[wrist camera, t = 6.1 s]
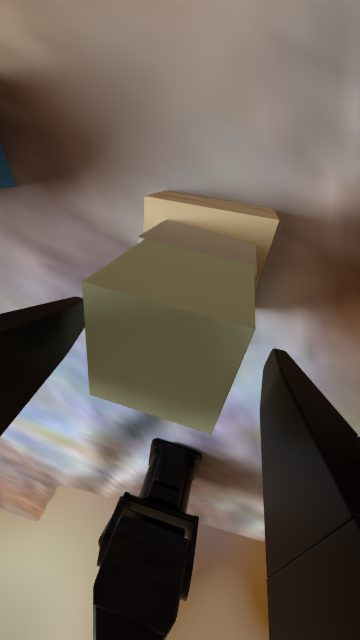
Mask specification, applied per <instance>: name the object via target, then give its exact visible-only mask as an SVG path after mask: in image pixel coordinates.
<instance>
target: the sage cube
mask: <svg viewBox="0 0 360 640" xmlns="http://www.w3.org/2000/svg"><path fill="white" fill-rule="evenodd" d="M82 288H83V303H84V318H85V332H86V347H87V361H88V376H89V391H90V395H93V396H96V397H99V398H102V399H105V400H108V401H111V402H114V403H117V404H120V405H123V406H126V407H129V408H132V409H135V410H138V411H141V412H144V413H147V414H150V415H154V416H157V417H160V418H163V419H166V420H169V421H172V422H175V423H178V424H181V425H184V426H187V427H190V428H193V429H196V430H199V431H202V432H205V433H208V434H212V432H213V429H214V427H215V424H216V422H217V420H218V417H219V415H220V412H221V410H222V408H223V405H224V403H225V401H226V398H227V396H228V393H229V391H230V389H231V386H232V384H233V381H234V379H235V377H236V374H237V372H238V369H239V367H240V365H241V362H242V360H243V357H244V355H245V353H246V350H247V348H248V346H249V343H250V341H251V338H252V336H253V334H254V331H255V289H254V266H253V265H249V264H245V263H241V262H237V261H233V260H229V259H224V258H220V257H216V256H212V255H208V254H204V253H200V252H196V251H192V250H188V249H183V248H179V247H175V246H171V245H167V244H163V243H159V242H155V241H151V240H146V239H144V240H143V241H141V242H140V243H138V244H137V245H135V246H134V247H132V248H131V249H129V250H128V251H127V252H125V253H124V254H122V255H121V256H119V257H118V258H116V259H115V260H113V261H112V262H110V263H109V264H107V265H106V266H105V267H103V268H102V269H100V270H99V271H97V272H96V273H94V274H93V275H91V276H90V277H88V278H87V279H86V280H84V281H83V282H82Z"/></svg>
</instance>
